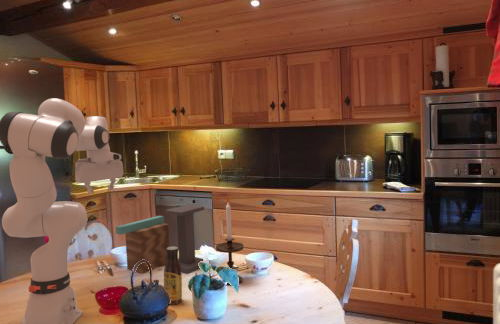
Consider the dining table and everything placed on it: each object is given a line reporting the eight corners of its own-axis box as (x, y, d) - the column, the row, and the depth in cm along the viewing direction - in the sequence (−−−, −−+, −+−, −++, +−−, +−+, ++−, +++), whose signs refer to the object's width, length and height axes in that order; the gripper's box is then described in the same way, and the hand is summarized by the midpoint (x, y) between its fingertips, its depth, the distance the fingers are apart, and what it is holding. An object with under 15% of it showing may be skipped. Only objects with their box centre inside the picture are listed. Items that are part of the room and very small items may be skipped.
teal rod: (120, 234, 190) (120, 227, 189) (116, 233, 192) (115, 226, 191) (164, 222, 209) (163, 216, 208) (159, 222, 211) (159, 215, 210)
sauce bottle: (161, 303, 162) (157, 249, 160) (171, 297, 168) (169, 244, 166) (175, 306, 159) (173, 251, 157) (186, 300, 165) (183, 246, 163)
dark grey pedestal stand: (187, 273, 193) (184, 213, 190) (164, 268, 201) (161, 209, 198) (210, 264, 204) (207, 207, 201) (187, 259, 212) (184, 204, 209)
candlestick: (237, 287, 175) (233, 197, 171) (212, 284, 180) (208, 196, 176) (249, 278, 185) (246, 192, 181) (225, 275, 189) (222, 191, 186)
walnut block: (142, 273, 195) (139, 232, 193) (127, 269, 201) (124, 229, 199) (170, 263, 208) (168, 224, 206) (155, 259, 214) (153, 221, 212)
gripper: (79, 159, 172) (82, 196, 173) (124, 154, 188) (126, 188, 189) (70, 159, 176) (73, 194, 177) (115, 154, 192) (117, 187, 193)
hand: (101, 191), depth 183 cm, fingers open, 8 cm apart
